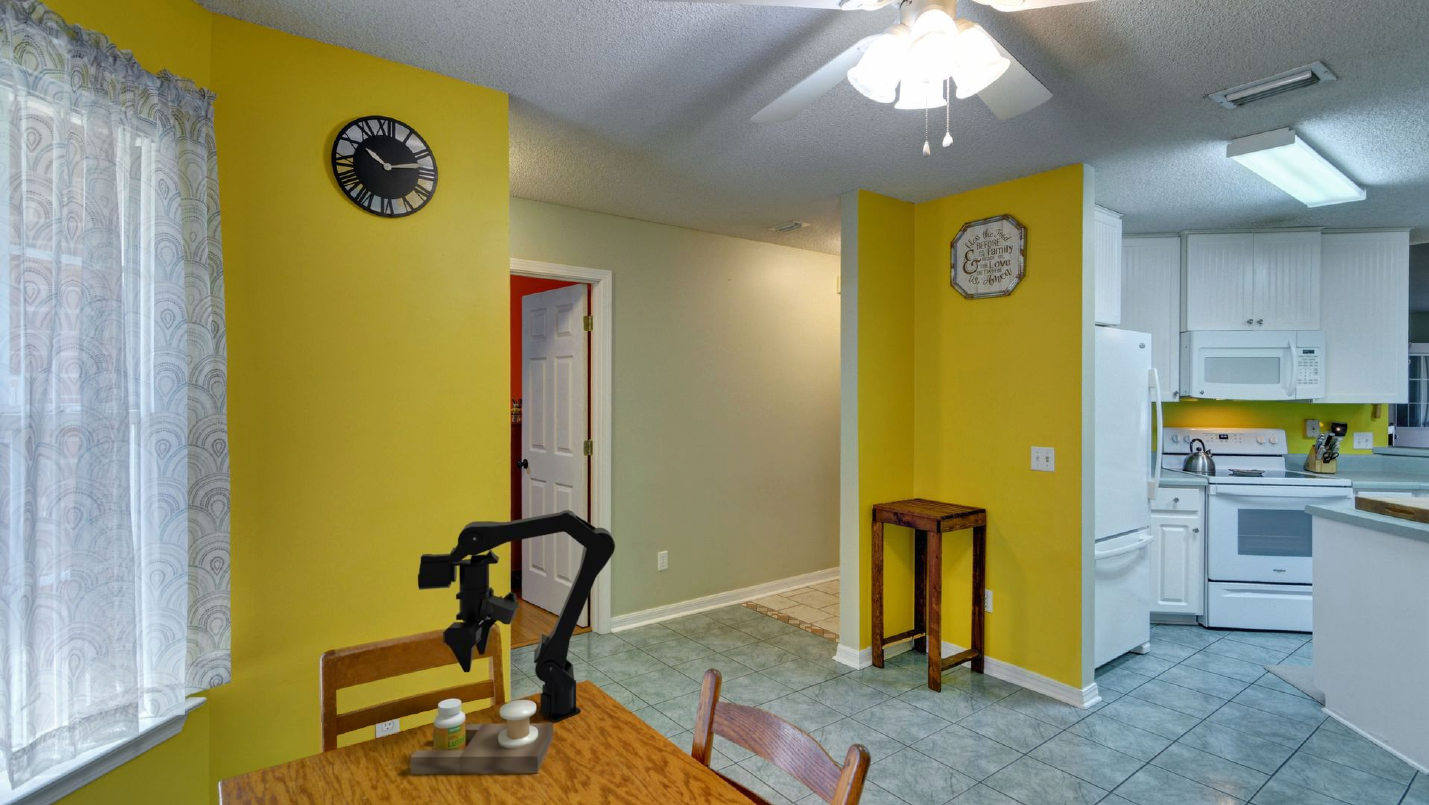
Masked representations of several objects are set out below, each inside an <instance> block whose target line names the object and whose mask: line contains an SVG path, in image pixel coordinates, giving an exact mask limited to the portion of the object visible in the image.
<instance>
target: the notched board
mask: <svg viewBox="0 0 1429 805" xmlns="http://www.w3.org/2000/svg"><path fill="white" fill-rule="evenodd" d="M530 725H531V726H534V727H536V728H537V730H538V739H537V741H536V742H535V743H533V744H532V745H530V746H527V747H524V748H519V749H506V748H503V747H501V746H500V745H499V744H498V735H499V733H500V732H501V731H503V730H504V729H506V728H507V723H465V750H434V749H433V750H432V749H431V750H429V749H428V750H415V751H414V752H413V754H412V755H410V775H486V774H487V775H489V774H490V775H494V774H495V775H496V774H497V775H500V774H501V775H502V774H506V775H508V774H509V775H511V774H512V775H514V774H517V775H518V774H521V775H522V774H523V775H525V774H538V773H539V771H540V769H541V766H542V765H543V762H544V760H545V758H546V756H547V753H548V751H549V749H550V747H551V744H552V743H553V740H554V722H552V723H530ZM432 730H433V732H432V746H433V747H434V729H432Z"/></svg>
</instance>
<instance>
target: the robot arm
mask: <svg viewBox="0 0 1429 805" xmlns="http://www.w3.org/2000/svg"><path fill="white" fill-rule="evenodd" d="M562 532H563V533H566V534H567V535H569V536H570V538H572V539H573V540H574V541H576V542H578V544H580V545H581V546H582V547H583V548H582V553H581V558H580V559H581V560H580V564H579V569H578V571H577V573H576V575H575V578H574V580H573V582H572V584H571V587H570V590H569V592H568V594H567V597H566V599H565V602H564V604H563V607H562V608H561V611H560V613H559V615H558V618H557V620H556V622H555V625H554V627H553V629H552V630H551V632H550V633H549V634H548V635H546V634H544V633H541V634H540V640H539V643H538V645H537V647H536V648H535V649H534V650H533V652H534V653H533V663H534V664H535V667H534V673H535V675H536V677H537V678H538V680H539V681H542V682H543V683H544V684H542V693H540V708H539V709H538V710H537V713H538V714H540V715H541V716H544V717H546V718H547V720H550V721H551V722H552V723H556V722H559V721H562V720H564V719H567V718H569V717H572V716H574V715H577V714H579V713H581V710H582V709H580V708H579V707H577V679H575V673H574V664H573V663H572V662H570V661H569V660H568V658H567V657H568V653H569V646H570V641H571V639H572V635H573V634H574V630H576V626H577V624H578V621H579V619H580V616H581V614H582V612H583V609H584V607H585V605H586V602H587V600H588V597H589V595H590V593H591V591H592V588H593V586H594V584H595V581H596V579H597V577H598V575H599V574H600V573H601V572H602V571H603V569H604V568H605V566H606V565H607V564H608V562H609V560H610V559H611V558H612V556H613V554H614V552H615V549H616V544H615V541H614V538H613V536H612V533H611V532H610V531H609V530H608V529H606V528H604V527H595V526H594V525H593V524H591V523H589V522H588V521H586V520H585V519H582V518H581V517H579V516H578V515H576V514H575V513H574V512H573V511H572V510H569V509H565V510H562V511H559V512H555V513H549V514H544V515H543V514H542V515H538V516H537V515H536V516H533V517H527V518H522V519H521V518H520V519H515V520H510V521H487V520H485V521H476V520H475V521H472V522H471V521H470V522H468V523H467V524H466V525H465V526H464V527H463V528H462V530H461V532H460V533H459V535H458V537H457V545H456V546H455V547H453V548H452V549H451V551H450V553H441V554H432V553H424V554H422V555H421V556H420V563H419V570H418V574H417V587H418V589H419V591H420V590H422V591H423V590H435V589H447V588H448V589H449V588H451V586H452V583H457V575H458V574H459V575H458V577H459V578H458V579H459V581H458V582H459V583H458V586H459V588H458V589H459V590H458V592H457V593H456V594H455V600H459V605H458V606H459V609H458V610H459V612H458V613H457V614H455V619H456V620H455V621H453V622H452V623H451V624H450V625H449V626H448V627H447V628H446V629H445V630H444V631H443V632H442V643H443V644H446V646H448V647H449V648H450V650H451V651H452V653H453V654H454V657H455V659H456V660H457V662H458V664H459V666H460V667H461V669H462V672H464V673H470V672H471V670H472V663H473V657H474V656H473V655H474V649H475V647H476V649H477V650H476V651H477V652H478V654H479V655H480V656H482V655H483V656H484V655H485V654H486V650H487V646H488V643H489V638H490V634H491V630H492V627H493V626H494V625H495V624H496V623H497V621H498V622H501V624H503V625H510V624H511V623H512V621H514V620H515V618H516V614H517V611H518V609H519V608H520V604H519V603H520V602H519V601H518V600H517V599H518V598H517V593H514V592H511V591H510V592H508V593H507V594H506V595H505V596H504V597H503V595H500V596H498V595H497V596H496V595H495V593H494V592H495V591H494V589H493V587H490V565H494V564H495V565H496V564H498V563H499V560H500V557H499V556H498V555H497V554H495V552H493V549H495V548H497V547H499V546H501V545H504V544H506V543H511V542H516V541H521V540H527V539H533V538H538V537H542V536H549V535H553V534H558V533H562ZM487 551H488V552H487ZM485 552H486V553H485ZM483 553H484V554H483ZM468 556H470V558H467V557H468ZM466 558H467V559H466ZM457 567H458V568H457ZM458 570H459V571H458ZM458 572H459V573H458ZM457 573H458V574H457Z"/></svg>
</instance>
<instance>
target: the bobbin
mask: <svg viewBox="0 0 1429 805" xmlns="http://www.w3.org/2000/svg"><path fill="white" fill-rule="evenodd" d="M536 712H537V704H536V703H535V702H534V701H532V700H529V699H528V700H527V699H517V700H516V699H515V700H513V701H509V702H506V703H504V704H503V705H501V707H500V708H499V716H500V717H501V719H504V720H506V724H507V728H506V729H504V730H503V731H501V732H500V733H499V735H498V744H499V745H500V746H501V747H503V748H506V749H519V748H524V747H527V746H530V745H532V744H533V743H535V742H536V741H537V739H538V730H537V728H536V727H534V726H531V725H530V724H531V723H530V717H532V716H534V714H535V713H536Z"/></svg>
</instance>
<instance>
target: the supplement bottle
mask: <svg viewBox="0 0 1429 805" xmlns="http://www.w3.org/2000/svg"><path fill="white" fill-rule="evenodd" d="M437 713H438V714H437V715H436V716H435V718H434V719H433V730H434V746H433V750H465V749H466V746H465V724H466V713H465V712H464V711H462V700H460V699H459V698H448V699H444V700H442V701H439V703H438V704H437Z"/></svg>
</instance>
